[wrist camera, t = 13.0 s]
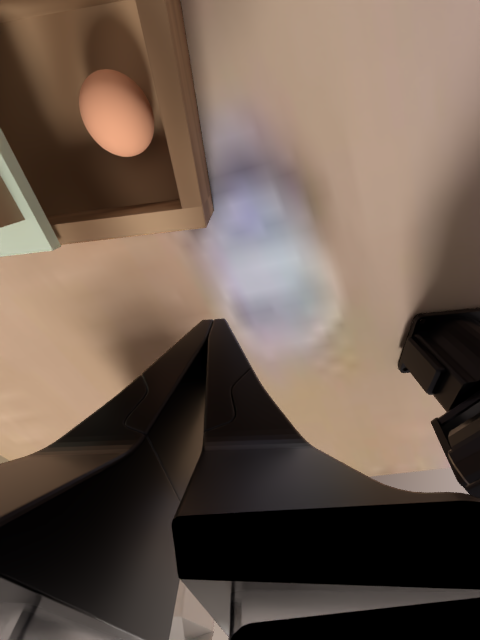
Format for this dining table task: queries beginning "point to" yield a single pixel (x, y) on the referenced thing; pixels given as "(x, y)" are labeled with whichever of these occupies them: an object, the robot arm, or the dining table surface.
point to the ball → (116, 113)
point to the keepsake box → (68, 127)
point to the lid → (20, 210)
